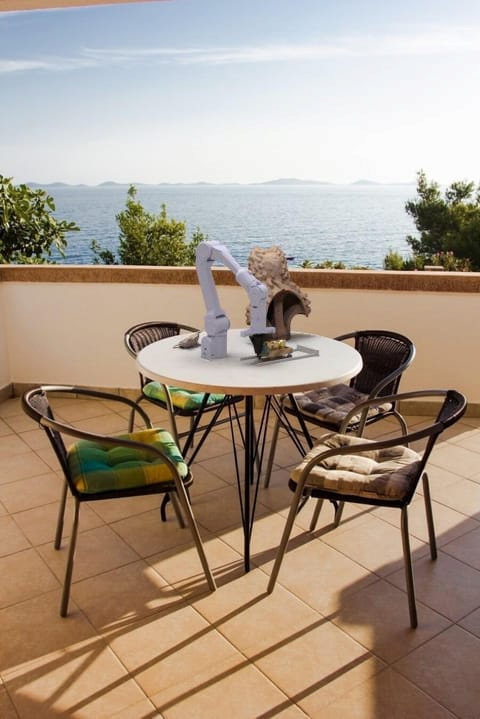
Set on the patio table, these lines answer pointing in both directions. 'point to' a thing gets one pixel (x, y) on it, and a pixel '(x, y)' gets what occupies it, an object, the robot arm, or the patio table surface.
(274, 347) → the part
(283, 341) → the part
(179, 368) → the patio table surface
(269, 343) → the part
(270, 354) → the cart
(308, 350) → the track
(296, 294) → the bust
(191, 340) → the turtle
